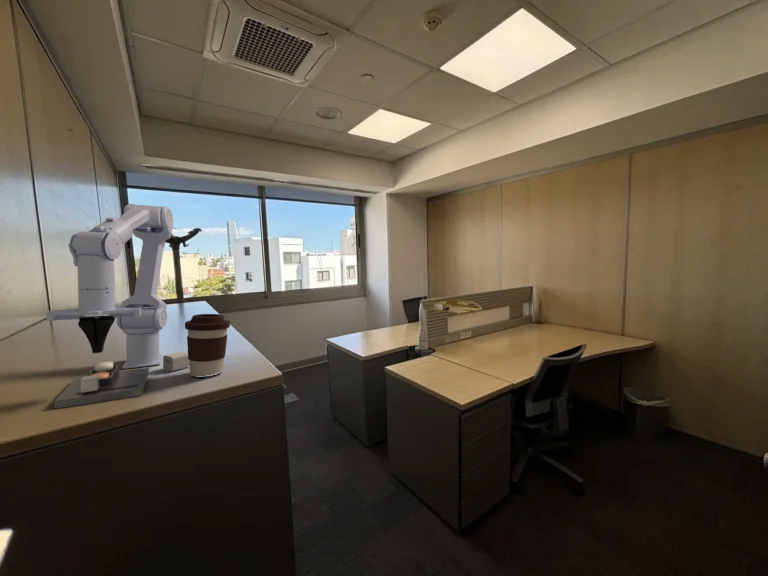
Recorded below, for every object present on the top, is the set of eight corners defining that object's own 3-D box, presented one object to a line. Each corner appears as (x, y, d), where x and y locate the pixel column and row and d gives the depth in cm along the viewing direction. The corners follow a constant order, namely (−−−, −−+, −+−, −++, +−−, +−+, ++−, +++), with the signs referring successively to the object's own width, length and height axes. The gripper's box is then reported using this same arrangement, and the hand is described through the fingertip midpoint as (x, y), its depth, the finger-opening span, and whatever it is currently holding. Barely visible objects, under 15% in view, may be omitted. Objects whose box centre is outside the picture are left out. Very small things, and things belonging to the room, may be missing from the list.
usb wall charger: (163, 370, 81) (163, 354, 81) (189, 363, 87) (189, 349, 87) (172, 372, 80) (172, 357, 79) (198, 365, 86) (198, 351, 86)
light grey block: (83, 389, 63) (83, 376, 63) (99, 387, 64) (99, 374, 64) (80, 392, 61) (80, 379, 61) (97, 390, 62) (96, 377, 62)
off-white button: (96, 369, 72) (96, 362, 72) (114, 367, 73) (114, 360, 73) (93, 373, 69) (92, 366, 69) (112, 371, 71) (111, 364, 71)
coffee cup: (196, 383, 72) (198, 319, 72) (175, 374, 78) (177, 314, 77) (236, 373, 81) (238, 315, 80) (214, 365, 86) (216, 312, 85)
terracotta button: (91, 380, 67) (91, 373, 67) (110, 378, 69) (110, 371, 69) (87, 385, 65) (87, 378, 65) (107, 382, 67) (107, 375, 66)
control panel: (77, 382, 71) (77, 369, 70) (148, 373, 78) (148, 362, 78) (54, 408, 58) (54, 393, 58) (142, 395, 65) (142, 381, 65)
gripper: (40, 290, 58) (42, 361, 59) (138, 290, 66) (138, 352, 67) (53, 287, 64) (55, 352, 65) (141, 287, 72) (142, 345, 73)
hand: (98, 352), depth 66 cm, fingers closed
